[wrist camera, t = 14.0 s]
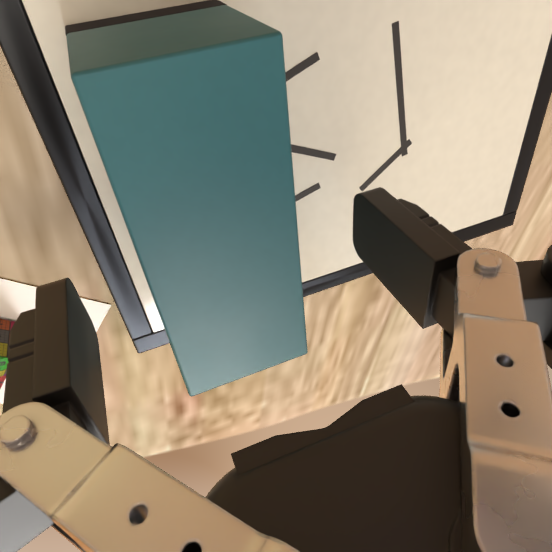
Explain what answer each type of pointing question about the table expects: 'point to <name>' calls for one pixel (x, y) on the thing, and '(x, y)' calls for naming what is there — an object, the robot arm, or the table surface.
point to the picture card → (19, 298)
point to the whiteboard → (328, 120)
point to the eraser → (201, 177)
